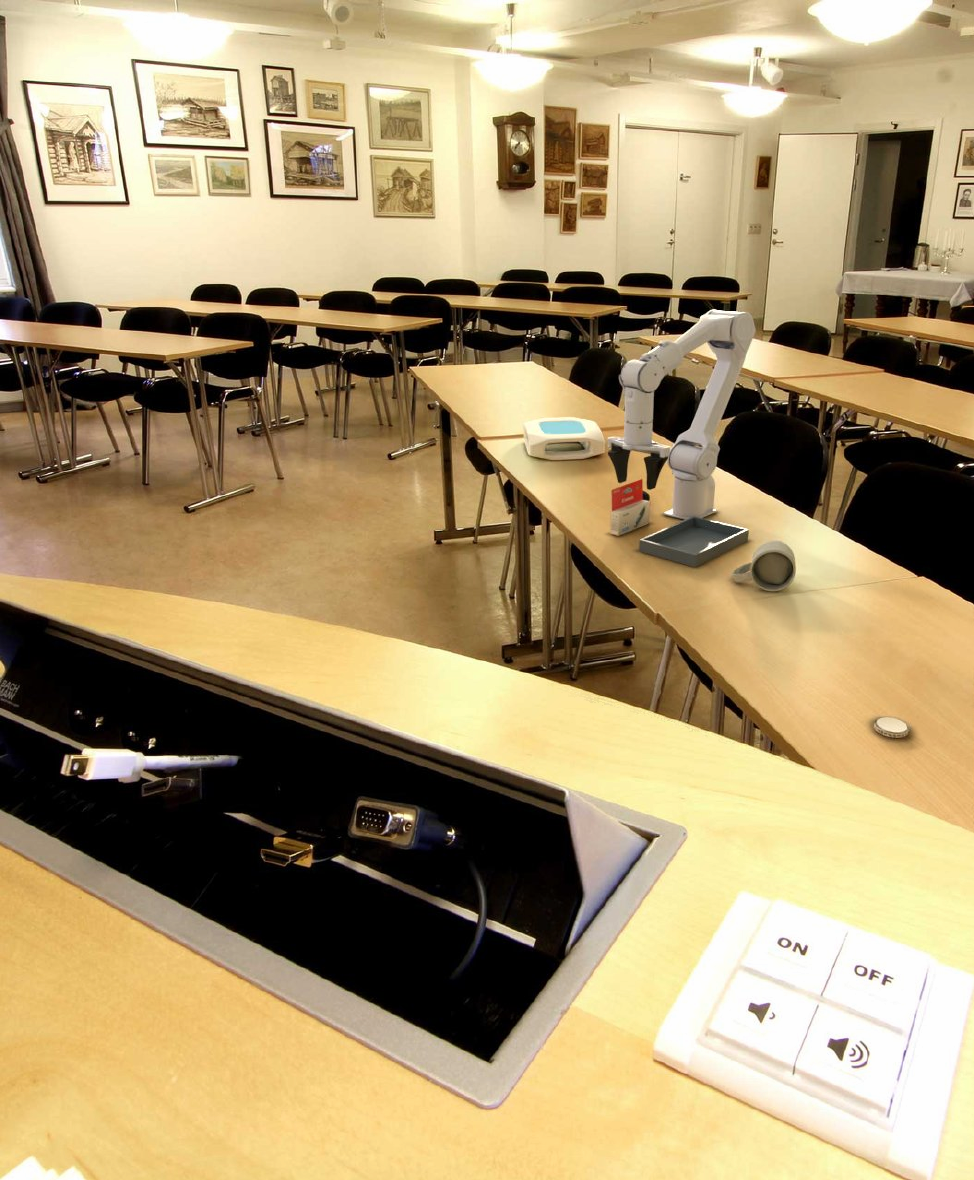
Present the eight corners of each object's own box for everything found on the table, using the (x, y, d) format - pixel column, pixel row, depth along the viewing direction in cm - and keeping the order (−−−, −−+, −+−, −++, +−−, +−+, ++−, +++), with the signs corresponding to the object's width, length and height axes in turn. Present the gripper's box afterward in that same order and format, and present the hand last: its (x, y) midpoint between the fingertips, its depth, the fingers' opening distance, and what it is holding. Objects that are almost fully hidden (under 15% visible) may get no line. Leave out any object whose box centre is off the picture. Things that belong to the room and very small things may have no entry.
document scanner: (590, 435, 261) (590, 415, 258) (605, 458, 235) (605, 436, 233) (523, 438, 260) (522, 418, 258) (530, 461, 235) (530, 439, 232)
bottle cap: (874, 734, 106) (875, 730, 106) (873, 718, 110) (874, 714, 110) (909, 739, 105) (910, 735, 105) (907, 723, 108) (907, 719, 108)
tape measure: (650, 507, 194) (651, 491, 192) (623, 511, 192) (624, 495, 190) (637, 499, 200) (637, 484, 198) (610, 502, 198) (611, 487, 196)
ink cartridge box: (650, 523, 184) (651, 480, 180) (618, 536, 177) (619, 492, 173) (640, 521, 185) (642, 478, 181) (609, 534, 178) (610, 490, 174)
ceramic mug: (792, 576, 154) (796, 536, 151) (793, 593, 147) (797, 552, 144) (733, 572, 157) (735, 533, 154) (730, 589, 150) (733, 549, 147)
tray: (692, 527, 181) (693, 515, 180) (747, 540, 172) (749, 529, 171) (638, 551, 169) (639, 539, 168) (694, 567, 160) (695, 555, 159)
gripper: (598, 419, 173) (597, 483, 179) (656, 429, 164) (653, 496, 169) (619, 414, 178) (618, 476, 183) (677, 423, 168) (673, 488, 173)
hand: (636, 485), depth 176 cm, fingers open, 7 cm apart
